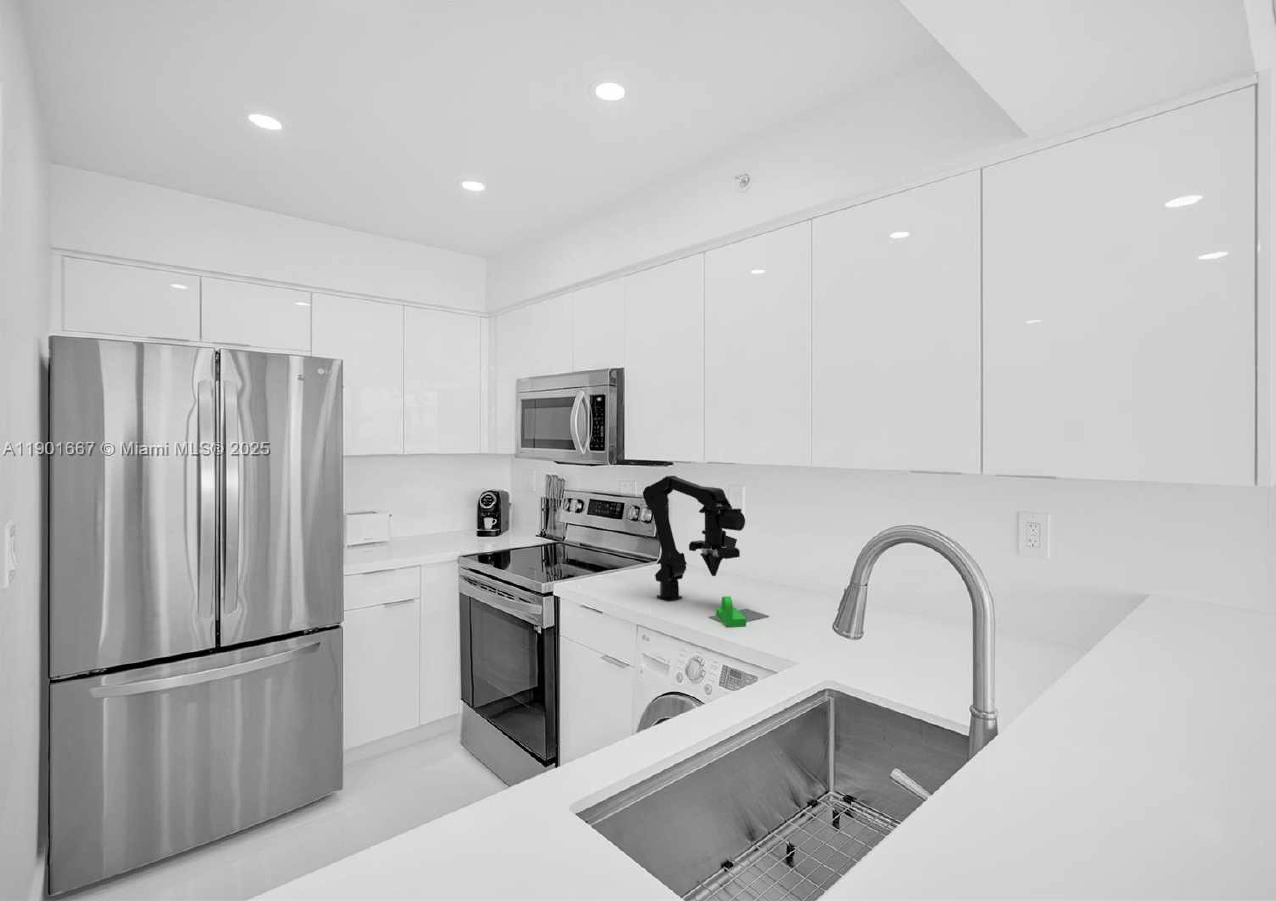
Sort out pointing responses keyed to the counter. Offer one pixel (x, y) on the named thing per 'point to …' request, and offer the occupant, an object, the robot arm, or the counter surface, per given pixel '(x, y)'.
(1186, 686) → the counter surface
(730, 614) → the mechanical part
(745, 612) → the tool mat
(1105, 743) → the counter surface
